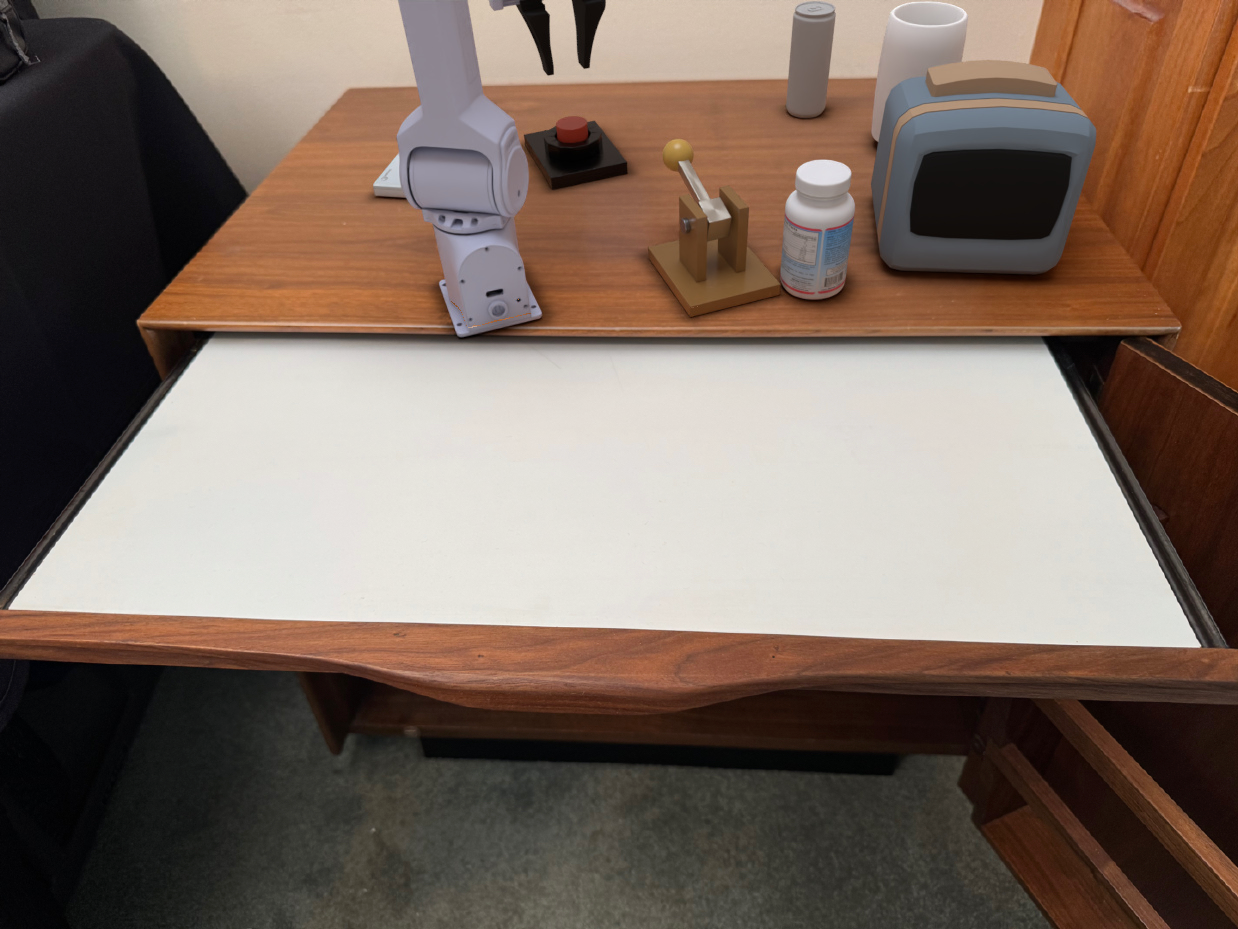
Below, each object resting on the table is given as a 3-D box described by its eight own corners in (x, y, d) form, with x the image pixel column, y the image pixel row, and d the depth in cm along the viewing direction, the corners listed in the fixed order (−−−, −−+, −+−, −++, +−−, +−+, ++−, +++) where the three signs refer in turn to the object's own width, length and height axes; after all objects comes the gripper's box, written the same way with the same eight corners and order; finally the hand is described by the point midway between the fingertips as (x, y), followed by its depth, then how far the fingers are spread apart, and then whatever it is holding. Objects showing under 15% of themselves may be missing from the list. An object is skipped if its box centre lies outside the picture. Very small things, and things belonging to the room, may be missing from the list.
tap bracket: (648, 257, 88) (645, 184, 82) (731, 237, 89) (734, 165, 84) (690, 317, 80) (690, 241, 75) (779, 294, 82) (786, 219, 76)
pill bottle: (836, 263, 85) (852, 152, 77) (850, 300, 81) (868, 186, 73) (773, 268, 85) (782, 157, 77) (784, 304, 81) (795, 191, 73)
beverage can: (778, 108, 110) (785, 5, 102) (810, 99, 112) (820, -3, 103) (799, 122, 107) (809, 17, 99) (832, 113, 108) (845, 9, 100)
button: (592, 140, 101) (591, 125, 100) (562, 146, 100) (560, 131, 99) (583, 128, 103) (581, 113, 102) (553, 134, 102) (552, 119, 101)
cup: (854, 135, 104) (872, 6, 94) (919, 123, 105) (944, -5, 95) (888, 166, 98) (912, 32, 88) (957, 154, 99) (987, 20, 89)
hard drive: (371, 184, 98) (476, 190, 96) (399, 150, 104) (499, 155, 102) (375, 197, 99) (479, 203, 97) (403, 163, 105) (501, 168, 103)
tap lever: (656, 160, 86) (659, 135, 84) (685, 154, 87) (688, 129, 84) (701, 245, 81) (705, 220, 78) (731, 238, 81) (736, 213, 79)
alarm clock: (876, 277, 83) (907, 111, 72) (866, 192, 94) (891, 37, 83) (1060, 283, 81) (1120, 112, 70) (1026, 195, 92) (1074, 36, 81)
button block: (627, 173, 100) (626, 148, 98) (552, 189, 99) (549, 164, 96) (595, 131, 108) (593, 107, 106) (525, 145, 107) (521, 121, 105)
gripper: (610, -93, 91) (617, 44, 100) (472, -72, 88) (493, 67, 97) (633, -77, 86) (638, 66, 95) (488, -54, 83) (508, 90, 93)
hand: (566, 68), depth 96 cm, fingers open, 3 cm apart
